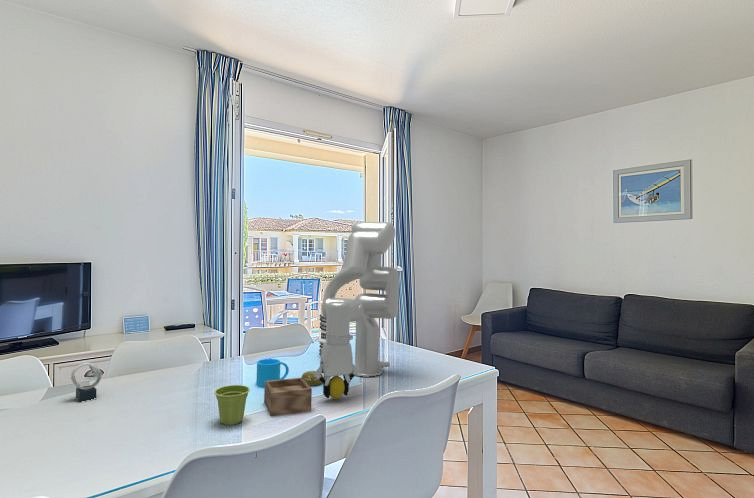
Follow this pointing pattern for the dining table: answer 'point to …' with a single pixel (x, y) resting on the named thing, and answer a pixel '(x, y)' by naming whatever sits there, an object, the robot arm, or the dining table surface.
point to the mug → (269, 371)
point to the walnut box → (287, 396)
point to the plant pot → (231, 403)
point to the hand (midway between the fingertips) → (335, 395)
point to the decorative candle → (322, 332)
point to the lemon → (336, 387)
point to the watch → (86, 391)
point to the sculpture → (312, 377)
